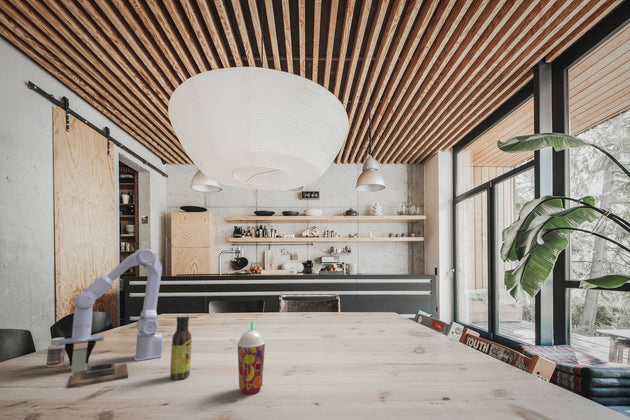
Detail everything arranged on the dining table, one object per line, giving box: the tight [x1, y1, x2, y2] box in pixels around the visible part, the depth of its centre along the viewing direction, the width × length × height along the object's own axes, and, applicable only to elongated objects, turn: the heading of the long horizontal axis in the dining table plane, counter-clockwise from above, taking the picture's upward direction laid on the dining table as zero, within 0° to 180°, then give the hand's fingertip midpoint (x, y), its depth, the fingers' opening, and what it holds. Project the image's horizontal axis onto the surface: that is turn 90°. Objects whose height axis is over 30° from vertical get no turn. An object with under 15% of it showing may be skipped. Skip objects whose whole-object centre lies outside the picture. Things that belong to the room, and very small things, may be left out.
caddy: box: [68, 361, 129, 389], centre depth 112 cm, size 16×14×3 cm
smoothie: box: [237, 320, 266, 395], centre depth 100 cm, size 8×8×20 cm
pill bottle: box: [46, 337, 66, 368], centre depth 125 cm, size 5×5×10 cm
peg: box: [70, 347, 87, 373], centre depth 120 cm, size 4×4×7 cm
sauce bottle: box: [169, 314, 192, 380], centre depth 112 cm, size 6×6×20 cm
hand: (79, 364), depth 119 cm, fingers closed on peg, 4 cm apart
